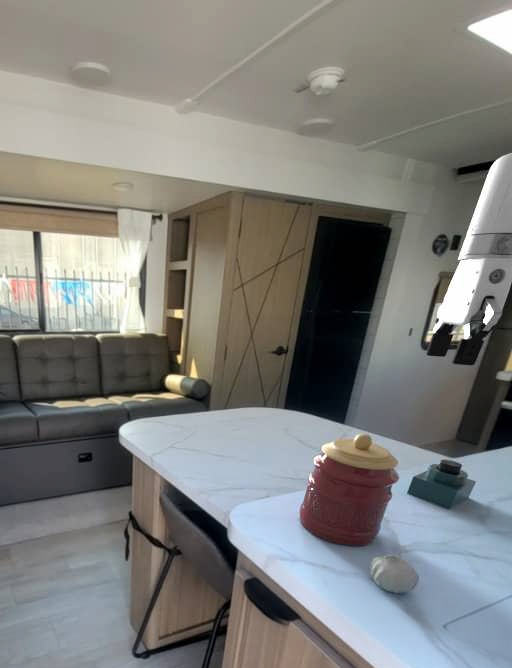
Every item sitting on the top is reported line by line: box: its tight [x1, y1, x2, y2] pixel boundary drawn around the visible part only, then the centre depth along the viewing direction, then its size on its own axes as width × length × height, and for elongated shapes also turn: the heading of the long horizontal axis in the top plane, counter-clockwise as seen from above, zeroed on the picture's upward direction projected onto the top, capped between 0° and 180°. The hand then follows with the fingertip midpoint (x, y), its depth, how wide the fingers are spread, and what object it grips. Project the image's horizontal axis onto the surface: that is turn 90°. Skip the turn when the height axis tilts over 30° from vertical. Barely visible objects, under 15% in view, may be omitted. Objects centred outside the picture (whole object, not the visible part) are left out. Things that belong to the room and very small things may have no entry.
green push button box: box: [406, 463, 477, 510], centre depth 85 cm, size 10×8×6 cm
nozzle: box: [438, 459, 463, 475], centre depth 84 cm, size 4×4×2 cm
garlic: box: [369, 554, 420, 594], centre depth 57 cm, size 6×5×5 cm
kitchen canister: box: [299, 433, 400, 547], centre depth 69 cm, size 13×13×18 cm
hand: (448, 360), depth 72 cm, fingers open, 9 cm apart
